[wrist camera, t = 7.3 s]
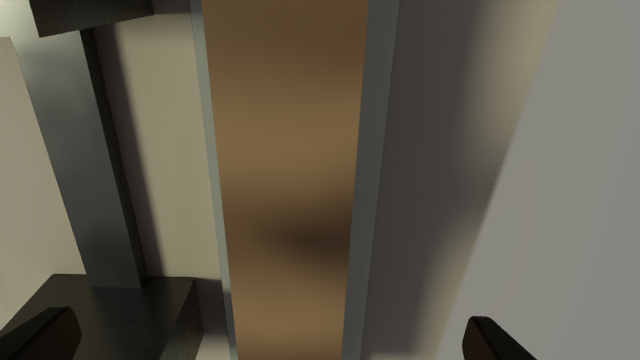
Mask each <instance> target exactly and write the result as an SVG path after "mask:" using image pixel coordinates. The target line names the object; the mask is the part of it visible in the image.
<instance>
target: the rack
mask: <svg viewBox="0 0 640 360" xmlns="http://www.w3.org/2000/svg"><path fill="white" fill-rule="evenodd" d="M151 15H154V14H153V7H152V1H151V0H0V37H11V39H12V42H13V45H14V48H15V51H16V55H17V58H18V61H19V64H20V67H21V70H22V73H23V76H24V80H25V83H26V86H27V89H28V92H29V95H30V98H31V102H32V105H33V108H34V111H35V114H36V117H37V120H38V124H39V127H40V130H41V133H42V136H43V139H44V142H45V145H46V149H47V152H48V155H49V158H50V161H51V164H52V167H53V171H54V174H55V177H56V180H57V183H58V186H59V189H60V192H61V196H62V199H63V202H64V205H65V208H66V211H67V214H68V218H69V221H70V224H71V227H72V230H73V233H74V236H75V240H76V243H77V246H78V249H79V252H80V255H81V258H82V261H83V265H84V268H85V271H86V274H87V275H61V274H52V275H51V276H50V277H49V279H48V280H47V281H46V282H45V283H44V284H43V285H42V286H41V287H40V288H39V289H38V291H37V292H36V293H35V294H34V295H33V296H32V297H31V298H30V299H29V300H28V301H27V302H26V304H25V305H24V306H23V307H22V308H21V309H20V310H19V311H18V312H17V313H16V314H15V316H14V317H13V318H12V319H11V320H10V321H9V322H8V323H7V324H6V325H5V326H4V327H3V329H2V330H1V331H0V337H1V336H3V335H4V334H6V333H8V332H9V331H11V330H12V329H14V328H16V327H17V326H19V325H21V324H22V323H24V322H25V321H27V320H29V319H30V318H32V317H33V316H35V315H37V314H38V313H40V312H42V311H43V310H45V309H46V308H48V307H50V306H71V307H72V308H73V309H74V312H75V314H76V317H77V320H78V323H79V325H80V328H81V333H82V336H81V341H80V344H79V346H78V349H77V351H76V353H75V356H74V358H73V360H195V359H196V356H197V353H198V350H199V347H200V344H201V341H202V338H203V328H202V322H201V315H200V309H199V303H198V296H197V290H196V283H195V278H178V277H148V275H147V270H146V266H145V261H144V257H143V252H142V248H141V244H140V239H139V235H138V230H137V226H136V222H135V217H134V213H133V208H132V204H131V200H130V195H129V191H128V186H127V182H126V177H125V173H124V169H123V164H122V160H121V155H120V151H119V147H118V142H117V138H116V133H115V129H114V124H113V120H112V116H111V111H110V107H109V102H108V98H107V94H106V89H105V85H104V80H103V76H102V72H101V67H100V63H99V58H98V54H97V49H96V45H95V41H94V36H93V32H92V27H97V26H101V25H106V24H111V23H116V22H121V21H126V20H131V19H136V18H141V17H146V16H151Z"/></svg>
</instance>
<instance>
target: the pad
mask: <svg viewBox="0 0 640 360" xmlns="http://www.w3.org/2000/svg"><path fill="white" fill-rule="evenodd" d="M189 1H190V10H191V18H192V27H193V36H194V44H195V53H196V62H197V71H198V79H199V88H200V97H201V105H202V114H203V123H204V131H205V140H206V149H207V157H208V166H209V175H210V184H211V192H212V201H213V210H214V218H215V227H216V236H217V244H218V253H219V262H220V270H221V279H222V288H223V297H224V305H225V314H226V323H227V331H228V340H229V349H230V357H231V360H238V356H237V346H236V336H235V326H234V317H233V307H232V297H231V287H230V277H229V268H228V258H227V248H226V238H225V228H224V219H223V209H222V199H221V189H220V179H219V170H218V160H217V150H216V140H215V130H214V121H213V111H212V101H211V91H210V82H209V72H208V62H207V52H206V42H205V33H204V23H203V13H202V3H201V0H189ZM399 5H400V0H369V3H368V16H367V29H366V42H365V55H364V68H363V80H362V93H361V106H360V119H359V132H358V145H357V158H356V171H355V184H354V197H353V210H352V223H351V235H350V248H349V261H348V274H347V287H346V300H345V313H344V326H343V339H342V352H341V360H360V357H361V348H362V339H363V330H364V321H365V312H366V303H367V294H368V285H369V276H370V267H371V258H372V249H373V240H374V231H375V222H376V212H377V203H378V194H379V185H380V176H381V167H382V158H383V149H384V140H385V131H386V122H387V113H388V104H389V95H390V86H391V77H392V68H393V59H394V50H395V41H396V32H397V23H398V14H399Z"/></svg>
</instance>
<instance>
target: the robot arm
mask: <svg viewBox="0 0 640 360" xmlns="http://www.w3.org/2000/svg"><path fill="white" fill-rule="evenodd" d="M81 336H82V333H81V328H80V325H79V323H78V320H77V317H76V314H75V312H74V309H73V308H72V307H71V306H50V307H48V308H46V309H45V310H43V311H42V312H40V313H38V314H37V315H35V316H33V317H32V318H30V319H29V320H27V321H25V322H24V323H22V324H21V325H19V326H17V327H16V328H14V329H12V330H11V331H9V332H8V333H6V334H4V335H3V336H1V337H0V360H73V358H74V356H75V353H76V351H77V349H78V346H79V344H80V341H81ZM462 350H463V355H464V359H465V360H537V359H536V358H534V357H533V356H532V355H531V354H530V353H529V352H528V351H526V350H525V349H524V348H523V347H522V346H521V345H520V344H519V343H518V342H517V341H516V340H514V339H513V338H512V337H511V336H510V335H509V334H508V333H507V332H506V331H504V330H503V329H502V328H501V327H500V326H499V325H497V323H496V322H494V321H493V320H492V319H491V318H489V317H485V316H472V317H470V319H469V320H468V323H467V327H466V330H465V334H464V338H463V341H462Z"/></svg>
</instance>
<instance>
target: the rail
mask: <svg viewBox="0 0 640 360" xmlns="http://www.w3.org/2000/svg"><path fill="white" fill-rule="evenodd" d="M201 3H202V13H203V23H204V33H205V42H206V52H207V62H208V72H209V82H210V91H211V101H212V111H213V121H214V130H215V140H216V150H217V160H218V170H219V179H220V189H221V199H222V209H223V219H224V228H225V238H226V248H227V258H228V268H229V277H230V287H231V297H232V307H233V317H234V326H235V336H236V346H237V356H238V360H341V352H342V339H343V326H344V313H345V300H346V287H347V274H348V261H349V248H350V235H351V223H352V210H353V197H354V184H355V171H356V158H357V145H358V132H359V119H360V106H361V93H362V80H363V68H364V55H365V42H366V29H367V16H368V3H369V0H201Z"/></svg>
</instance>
